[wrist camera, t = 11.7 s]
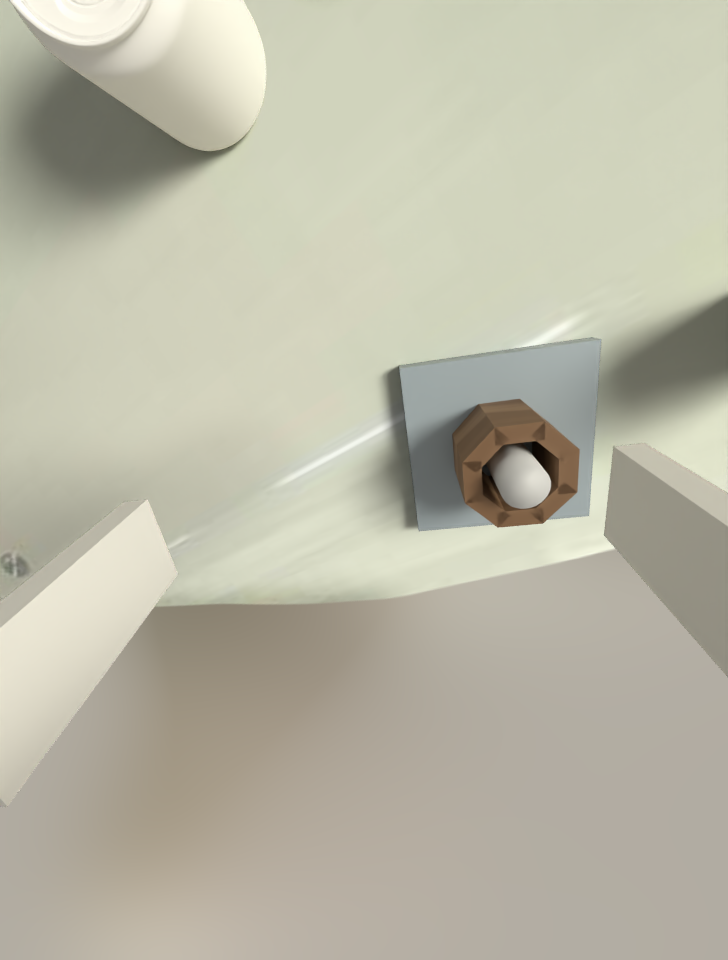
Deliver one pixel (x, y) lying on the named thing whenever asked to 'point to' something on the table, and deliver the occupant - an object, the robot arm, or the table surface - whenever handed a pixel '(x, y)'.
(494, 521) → the collar
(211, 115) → the beverage can
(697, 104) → the table surface
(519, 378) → the post block
